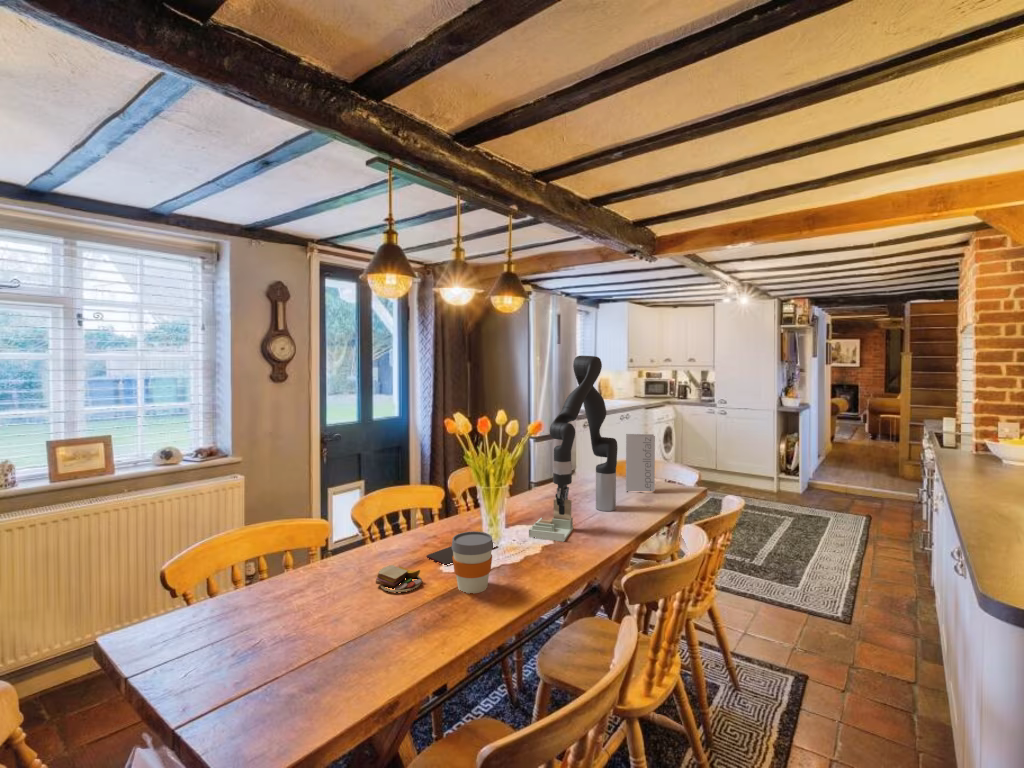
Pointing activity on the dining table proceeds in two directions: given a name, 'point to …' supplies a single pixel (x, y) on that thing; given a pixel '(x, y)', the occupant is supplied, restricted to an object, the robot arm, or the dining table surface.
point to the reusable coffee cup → (472, 560)
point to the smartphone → (442, 556)
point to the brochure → (640, 462)
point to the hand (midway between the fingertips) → (562, 513)
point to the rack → (552, 529)
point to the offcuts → (545, 521)
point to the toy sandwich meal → (398, 579)
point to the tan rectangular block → (567, 510)
